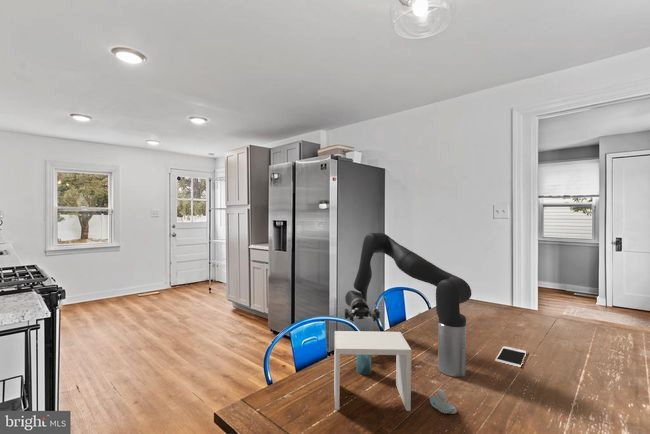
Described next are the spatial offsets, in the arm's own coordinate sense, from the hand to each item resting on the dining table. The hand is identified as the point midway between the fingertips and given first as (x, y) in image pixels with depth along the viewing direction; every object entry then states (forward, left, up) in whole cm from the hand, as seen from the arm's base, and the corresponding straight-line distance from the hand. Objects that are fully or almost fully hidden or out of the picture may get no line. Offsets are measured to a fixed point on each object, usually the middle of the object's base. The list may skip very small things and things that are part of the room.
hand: (363, 318), depth 126 cm
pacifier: (-31, +23, -16) cm, 41 cm away
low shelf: (-9, +25, -15) cm, 31 cm away
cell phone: (-54, -25, -16) cm, 62 cm away
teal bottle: (-3, +10, -15) cm, 19 cm away
